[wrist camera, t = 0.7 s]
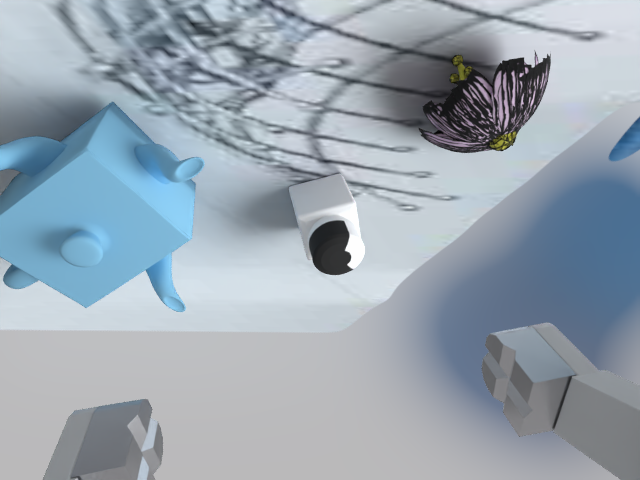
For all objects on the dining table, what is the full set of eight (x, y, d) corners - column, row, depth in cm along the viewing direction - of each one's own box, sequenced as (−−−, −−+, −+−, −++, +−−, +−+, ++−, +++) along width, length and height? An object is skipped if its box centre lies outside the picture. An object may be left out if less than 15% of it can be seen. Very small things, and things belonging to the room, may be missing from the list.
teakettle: (34, 230, 50) (-19, 324, 38) (0, 71, 39) (-88, 137, 28) (197, 240, 55) (193, 325, 44) (207, 103, 45) (204, 168, 33)
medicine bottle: (299, 228, 57) (315, 289, 48) (287, 185, 53) (303, 243, 44) (348, 215, 58) (374, 273, 48) (341, 171, 53) (368, 226, 44)
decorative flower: (435, 202, 47) (499, 85, 35) (382, 136, 52) (422, 15, 40) (526, 173, 52) (610, 62, 40) (470, 115, 57) (529, 3, 45)
